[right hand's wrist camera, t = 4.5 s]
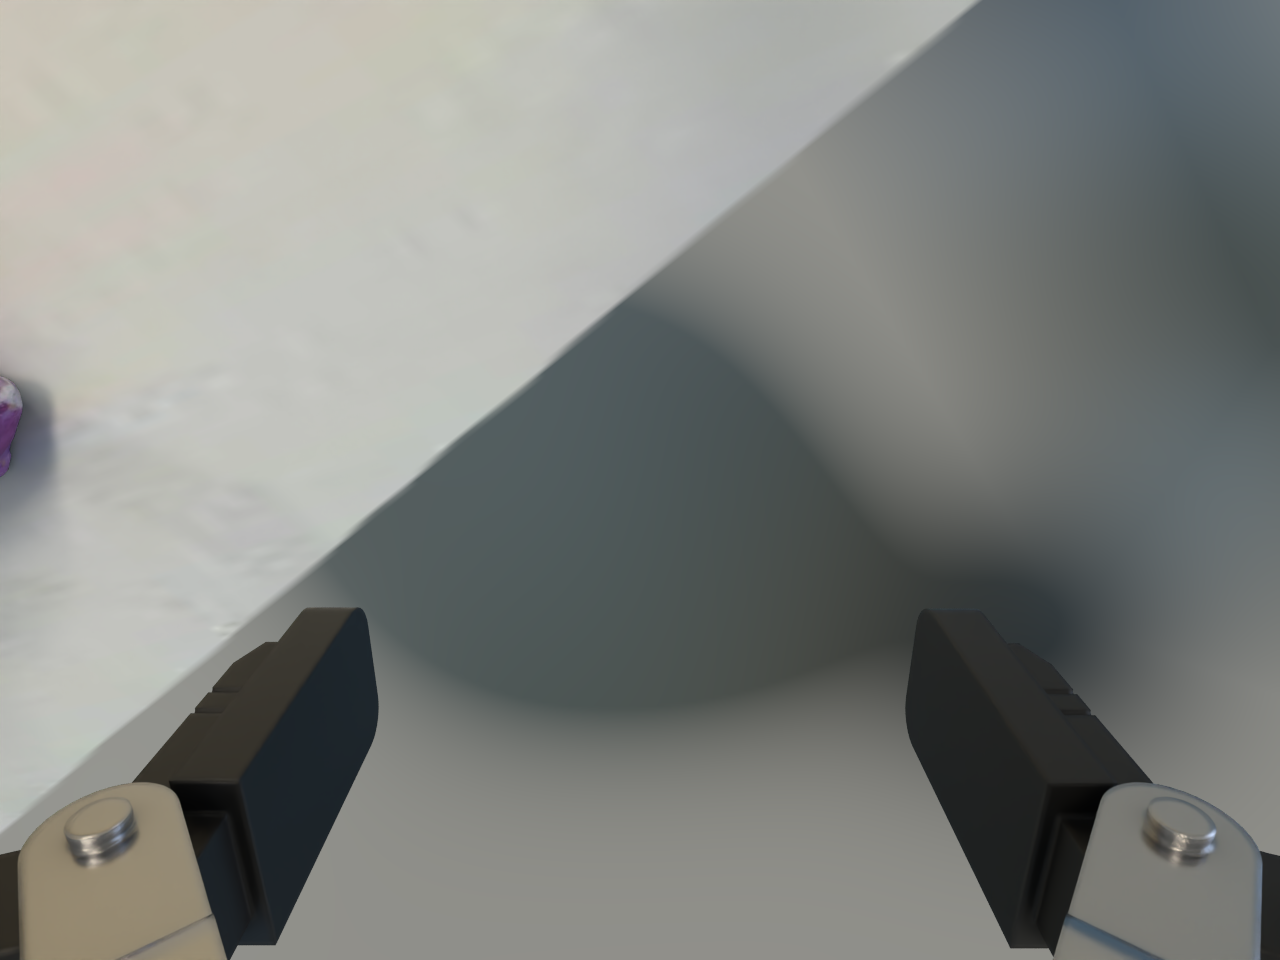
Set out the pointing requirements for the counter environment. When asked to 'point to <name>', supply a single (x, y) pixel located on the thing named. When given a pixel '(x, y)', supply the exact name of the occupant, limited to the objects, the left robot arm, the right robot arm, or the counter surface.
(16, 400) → the figurine
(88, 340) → the counter surface
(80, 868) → the right robot arm
